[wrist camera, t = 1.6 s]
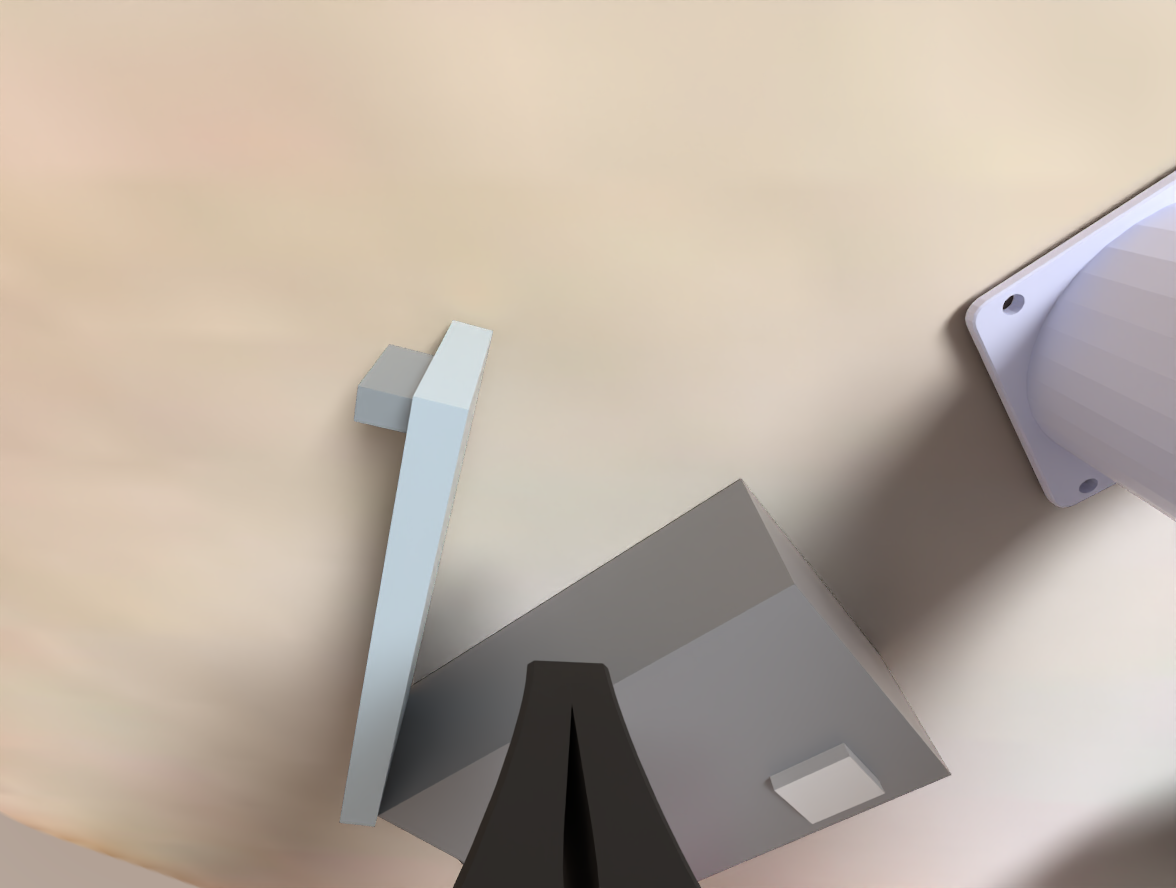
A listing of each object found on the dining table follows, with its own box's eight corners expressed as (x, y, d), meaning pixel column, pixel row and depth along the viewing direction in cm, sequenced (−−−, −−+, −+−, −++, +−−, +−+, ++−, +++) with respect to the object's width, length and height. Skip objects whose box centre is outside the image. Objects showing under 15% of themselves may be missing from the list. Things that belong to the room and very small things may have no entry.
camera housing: (741, 478, 17) (801, 596, 13) (879, 654, 21) (959, 788, 17) (388, 700, 21) (346, 845, 17) (560, 812, 26) (561, 952, 21)
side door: (403, 306, 14) (343, 379, 10) (493, 331, 14) (468, 409, 11) (346, 683, 20) (295, 817, 17) (409, 693, 21) (374, 826, 17)
